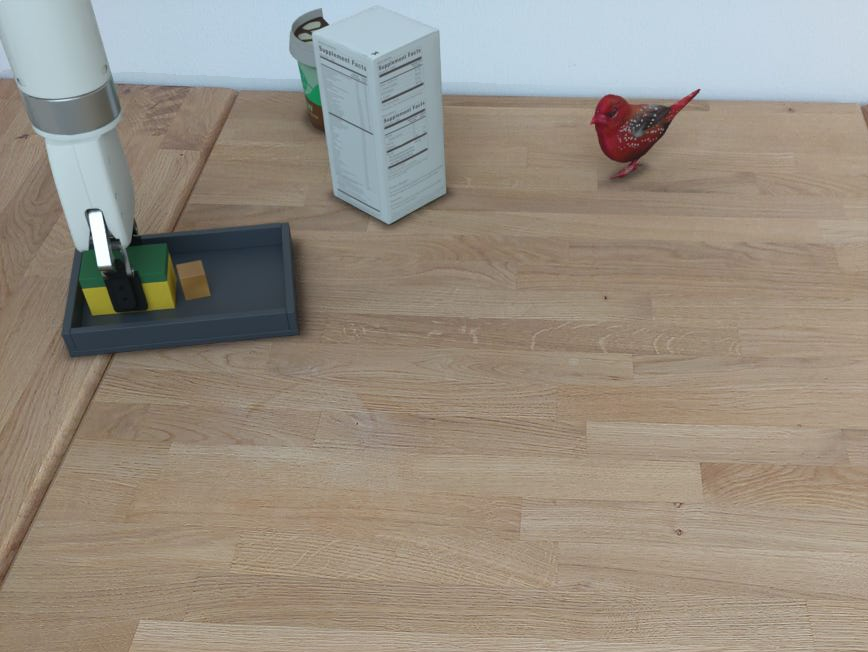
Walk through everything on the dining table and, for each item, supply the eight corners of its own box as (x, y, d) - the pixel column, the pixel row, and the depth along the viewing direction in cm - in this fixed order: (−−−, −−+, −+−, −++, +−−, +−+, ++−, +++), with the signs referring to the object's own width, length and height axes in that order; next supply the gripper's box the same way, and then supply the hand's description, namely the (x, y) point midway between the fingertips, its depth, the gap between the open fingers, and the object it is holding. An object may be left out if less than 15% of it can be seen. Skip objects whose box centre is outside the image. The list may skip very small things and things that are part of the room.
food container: (285, 105, 120) (270, 16, 112) (331, 94, 122) (319, 6, 114) (321, 149, 114) (309, 58, 106) (369, 137, 116) (360, 47, 108)
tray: (70, 357, 91) (60, 334, 89) (84, 263, 100) (76, 240, 98) (299, 334, 93) (294, 311, 91) (292, 244, 102) (288, 221, 100)
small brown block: (186, 301, 96) (179, 278, 94) (182, 286, 97) (175, 264, 95) (211, 296, 96) (205, 273, 94) (207, 282, 97) (201, 259, 95)
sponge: (92, 316, 94) (78, 279, 91) (96, 286, 97) (83, 249, 94) (175, 308, 95) (164, 272, 92) (176, 279, 98) (166, 242, 95)
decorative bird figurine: (574, 190, 109) (582, 97, 100) (682, 138, 115) (697, 48, 107) (592, 200, 107) (601, 107, 99) (700, 148, 114) (716, 57, 106)
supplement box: (449, 194, 108) (444, 29, 94) (389, 227, 104) (375, 60, 91) (390, 164, 112) (377, 1, 98) (330, 195, 108) (308, 29, 94)
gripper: (37, 58, 85) (101, 247, 100) (12, 156, 76) (87, 349, 90) (124, 53, 86) (175, 241, 101) (110, 150, 76) (169, 342, 91)
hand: (133, 290), depth 95 cm, fingers closed on sponge, 5 cm apart
